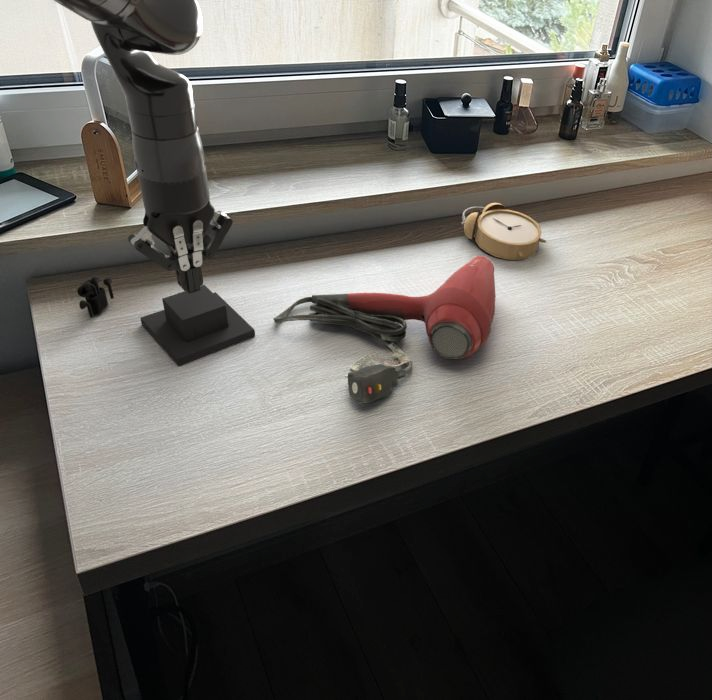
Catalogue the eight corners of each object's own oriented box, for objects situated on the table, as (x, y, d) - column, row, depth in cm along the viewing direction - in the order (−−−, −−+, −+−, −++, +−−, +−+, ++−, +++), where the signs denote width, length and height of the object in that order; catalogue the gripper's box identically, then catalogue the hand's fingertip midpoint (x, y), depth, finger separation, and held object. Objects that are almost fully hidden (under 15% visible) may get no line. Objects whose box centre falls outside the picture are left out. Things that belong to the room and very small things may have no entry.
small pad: (186, 342, 95) (182, 320, 93) (166, 320, 98) (161, 298, 96) (228, 326, 98) (225, 305, 96) (207, 305, 101) (204, 284, 99)
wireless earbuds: (89, 326, 97) (81, 295, 94) (72, 322, 98) (63, 291, 94) (119, 298, 103) (111, 268, 100) (102, 295, 103) (94, 264, 100)
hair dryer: (448, 258, 120) (453, 209, 115) (550, 338, 105) (561, 286, 100) (262, 316, 103) (257, 262, 97) (354, 421, 88) (354, 365, 83)
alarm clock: (518, 253, 118) (450, 206, 123) (509, 276, 121) (444, 229, 126) (555, 231, 125) (490, 187, 130) (546, 253, 128) (483, 209, 133)
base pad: (178, 366, 93) (175, 350, 91) (141, 324, 99) (138, 309, 97) (255, 336, 99) (253, 321, 97) (216, 298, 105) (214, 283, 103)
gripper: (127, 191, 78) (154, 320, 89) (239, 165, 86) (252, 286, 96) (100, 165, 82) (129, 292, 93) (209, 142, 90) (224, 261, 101)
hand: (192, 289), depth 95 cm, fingers closed
